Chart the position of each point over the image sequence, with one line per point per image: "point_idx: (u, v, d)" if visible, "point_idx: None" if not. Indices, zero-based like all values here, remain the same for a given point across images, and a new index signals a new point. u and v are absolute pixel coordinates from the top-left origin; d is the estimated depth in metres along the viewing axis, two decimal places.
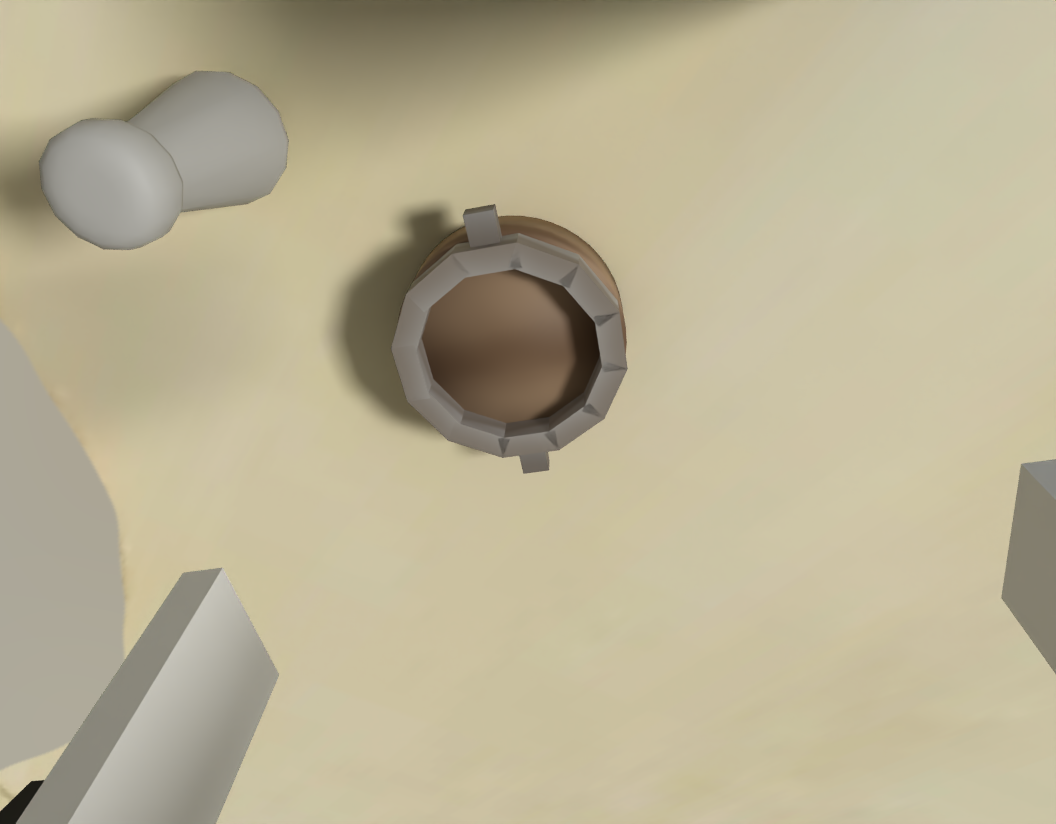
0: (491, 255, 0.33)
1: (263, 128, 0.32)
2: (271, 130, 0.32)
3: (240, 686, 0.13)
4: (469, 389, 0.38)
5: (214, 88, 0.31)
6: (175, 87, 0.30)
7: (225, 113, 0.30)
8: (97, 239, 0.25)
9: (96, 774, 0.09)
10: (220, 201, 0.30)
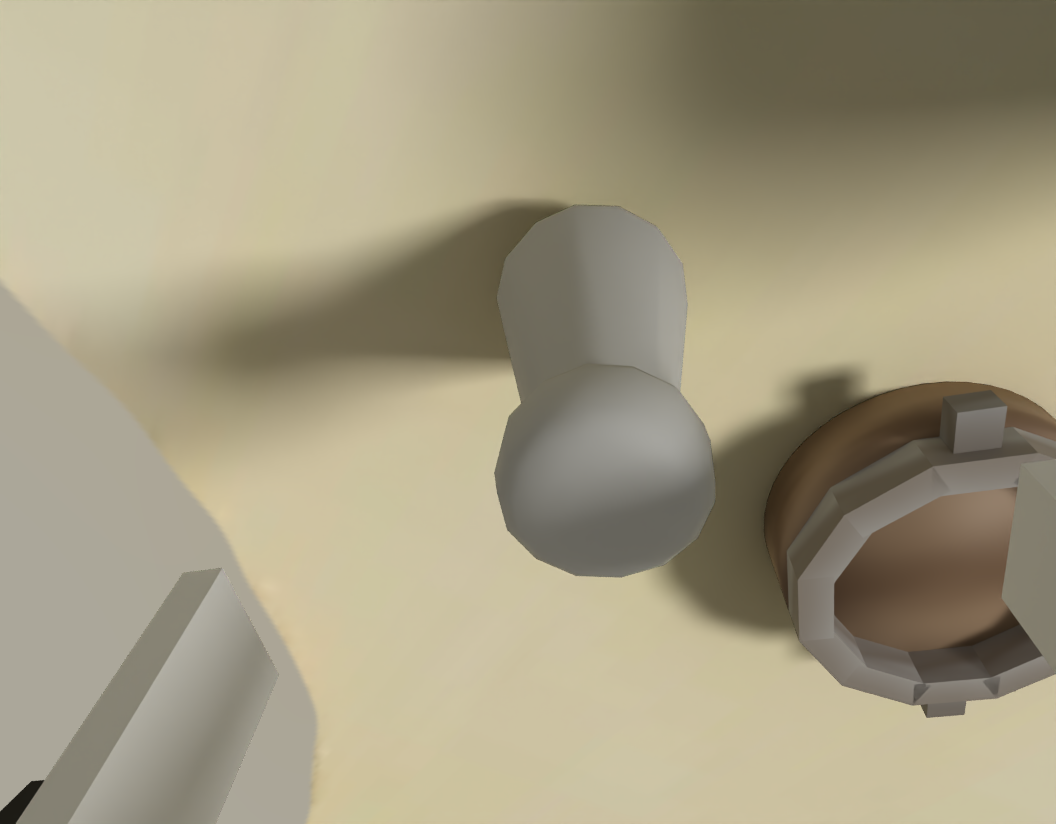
0: (992, 468, 0.22)
1: (682, 294, 0.21)
2: (683, 294, 0.21)
3: (240, 686, 0.13)
4: (868, 613, 0.28)
5: (630, 244, 0.20)
6: (580, 247, 0.19)
7: (662, 289, 0.19)
8: (583, 572, 0.14)
9: (96, 774, 0.09)
10: None
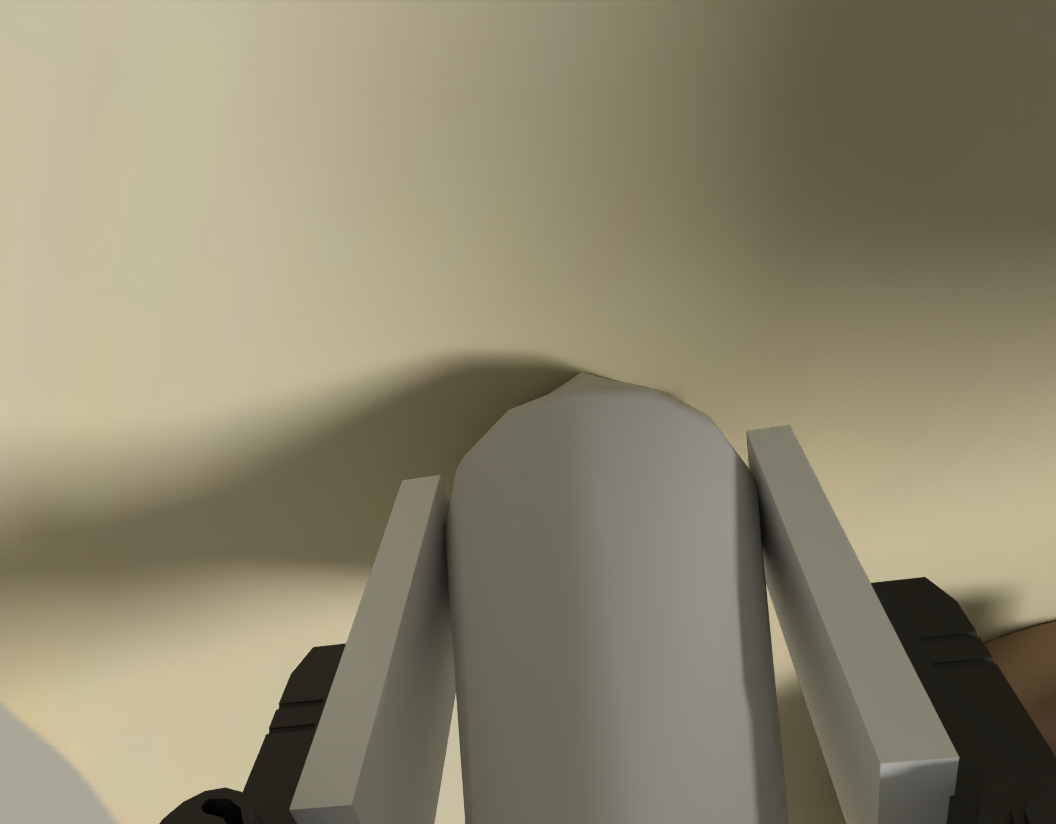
0: None
1: None
2: None
3: None
4: None
5: (676, 486, 0.11)
6: (584, 504, 0.10)
7: (740, 587, 0.10)
8: None
9: (396, 628, 0.11)
10: None
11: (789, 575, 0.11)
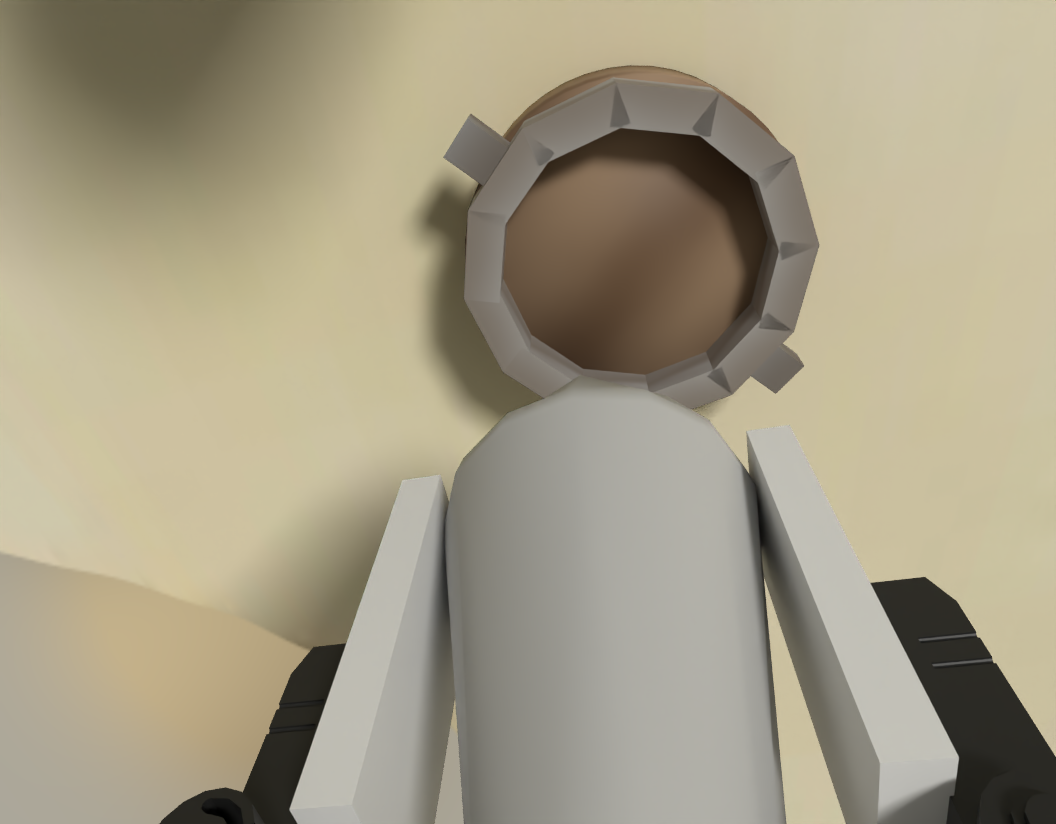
0: (509, 171, 0.23)
1: (759, 555, 0.12)
2: None
3: None
4: (630, 348, 0.27)
5: (674, 490, 0.11)
6: (582, 508, 0.10)
7: (738, 590, 0.10)
8: None
9: (396, 628, 0.11)
10: None
11: (789, 575, 0.11)
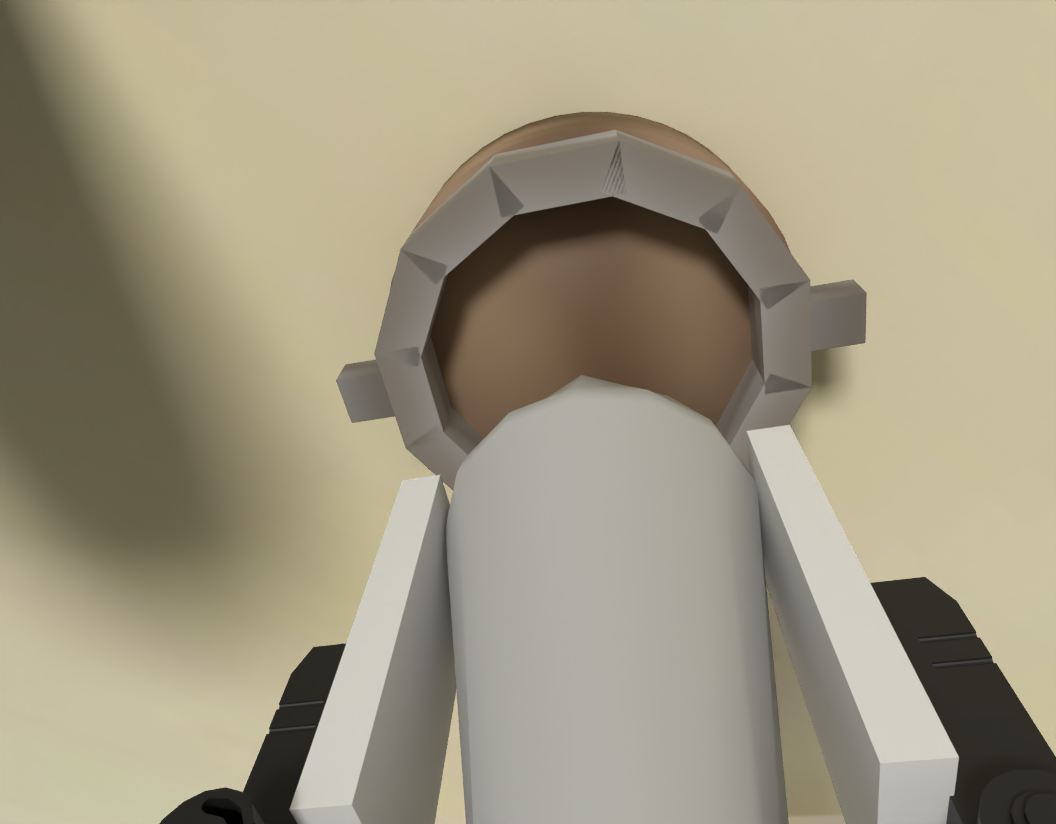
0: (401, 392, 0.20)
1: (761, 556, 0.12)
2: (761, 543, 0.12)
3: None
4: None
5: (676, 490, 0.11)
6: (585, 508, 0.10)
7: (740, 590, 0.10)
8: None
9: (397, 629, 0.11)
10: None
11: (789, 575, 0.11)
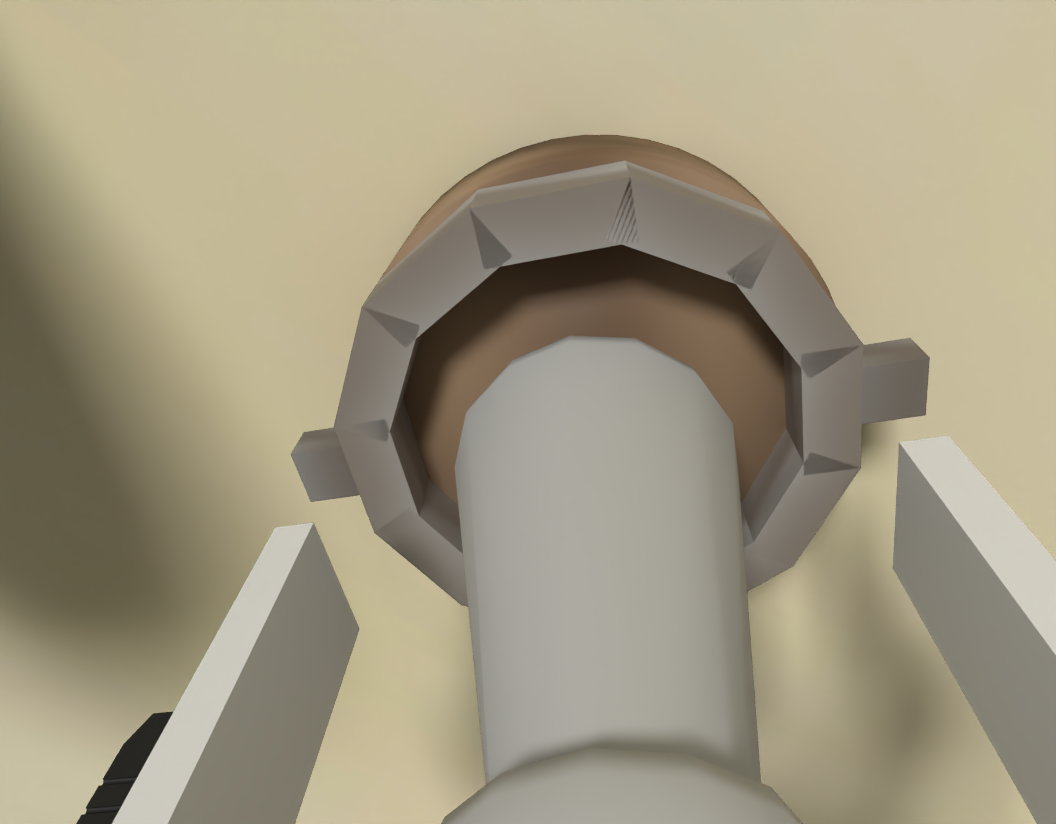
0: (367, 470, 0.17)
1: (735, 478, 0.13)
2: (736, 472, 0.14)
3: (330, 635, 0.13)
4: None
5: (658, 409, 0.12)
6: (578, 419, 0.12)
7: (713, 489, 0.12)
8: None
9: (225, 700, 0.10)
10: None
11: (980, 606, 0.10)
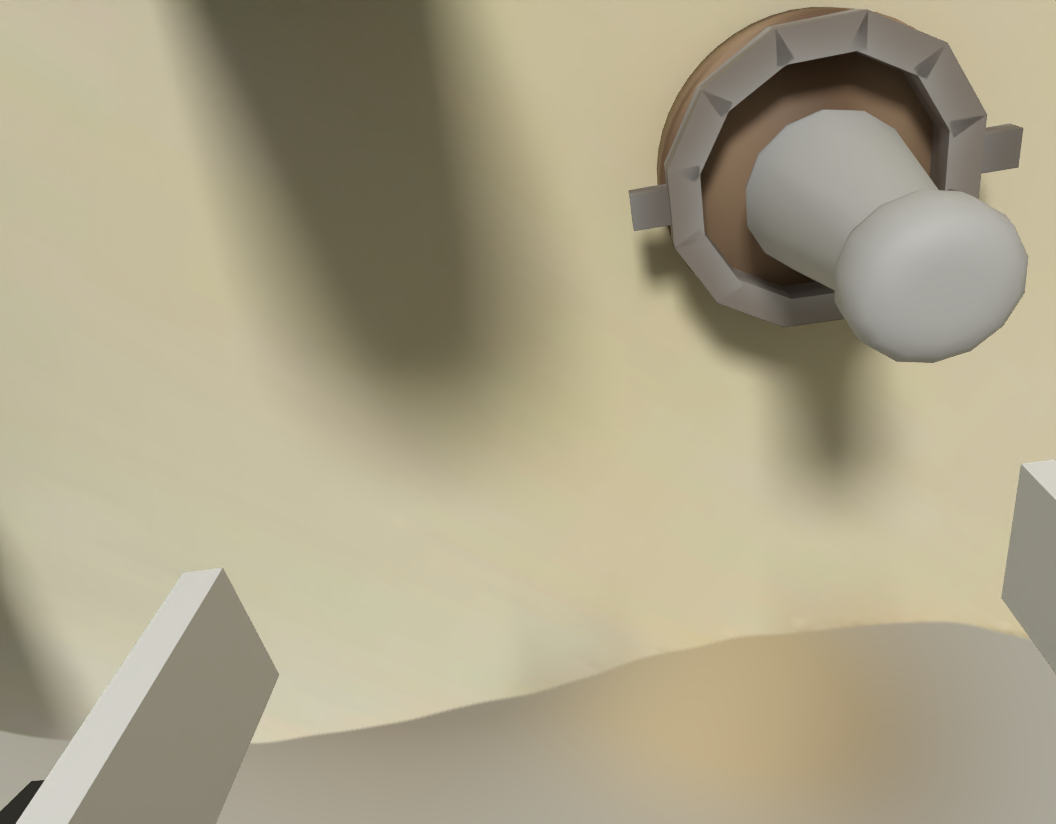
0: (680, 202, 0.28)
1: None
2: None
3: (240, 686, 0.13)
4: None
5: (885, 133, 0.24)
6: (848, 133, 0.23)
7: None
8: (912, 351, 0.19)
9: (96, 774, 0.09)
10: None
11: None
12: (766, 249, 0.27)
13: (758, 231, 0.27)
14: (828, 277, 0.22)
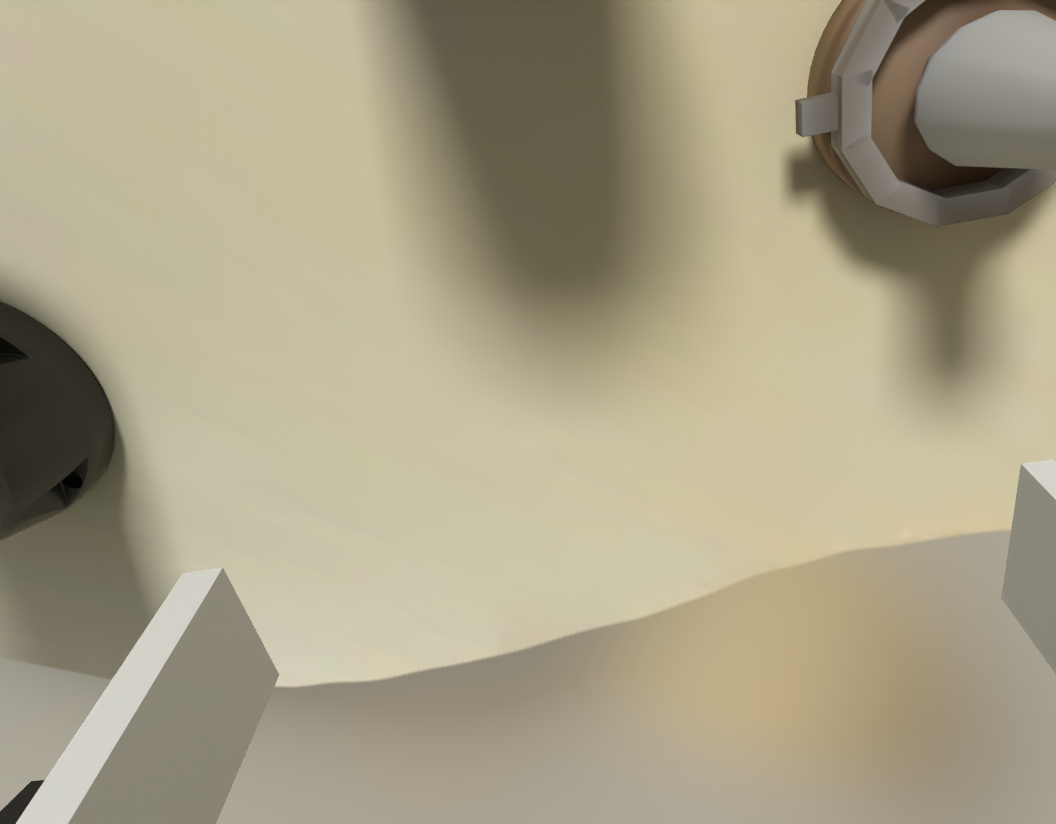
0: (851, 106, 0.31)
1: None
2: None
3: (240, 686, 0.13)
4: None
5: None
6: (1036, 24, 0.26)
7: None
8: None
9: (96, 774, 0.09)
10: None
11: None
12: (936, 145, 0.30)
13: (934, 125, 0.29)
14: (1032, 148, 0.25)
